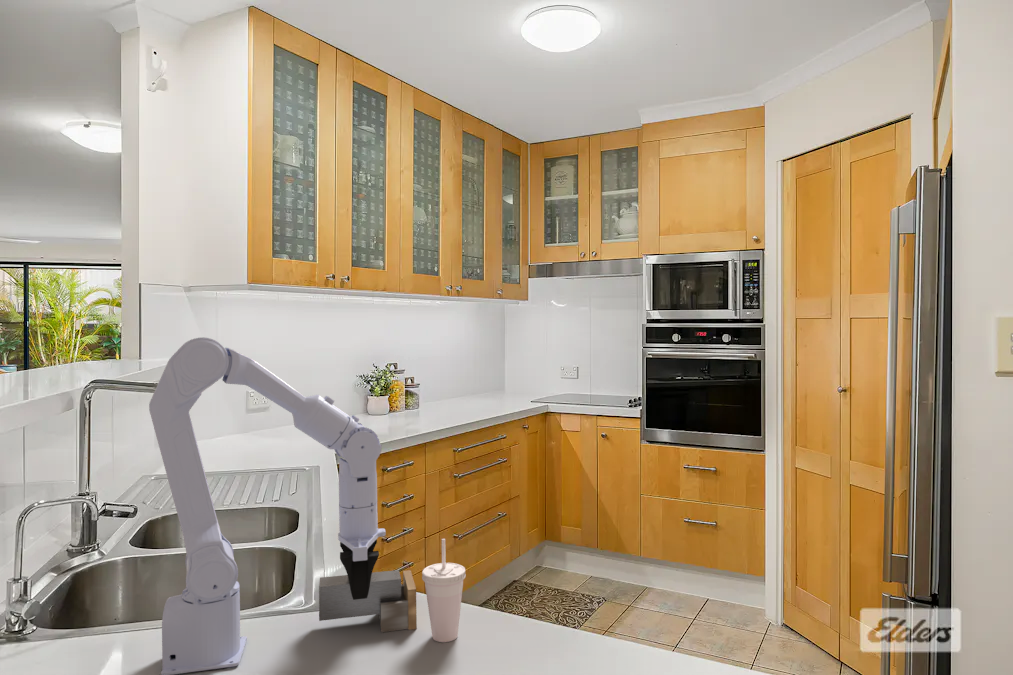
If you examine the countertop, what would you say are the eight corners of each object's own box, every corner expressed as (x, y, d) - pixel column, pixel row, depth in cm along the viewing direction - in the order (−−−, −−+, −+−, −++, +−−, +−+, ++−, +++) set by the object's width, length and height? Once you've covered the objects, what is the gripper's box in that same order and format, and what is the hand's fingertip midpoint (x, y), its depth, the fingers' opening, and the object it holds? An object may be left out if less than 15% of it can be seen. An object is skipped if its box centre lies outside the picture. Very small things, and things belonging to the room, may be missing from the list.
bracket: (381, 633, 94) (380, 593, 94) (378, 611, 101) (377, 573, 101) (416, 629, 95) (416, 589, 95) (411, 607, 103) (410, 570, 103)
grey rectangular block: (399, 601, 100) (398, 570, 100) (401, 611, 96) (401, 578, 96) (320, 610, 97) (319, 577, 97) (319, 620, 93) (319, 587, 93)
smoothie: (466, 625, 96) (465, 532, 96) (467, 645, 89) (465, 546, 89) (424, 627, 95) (422, 534, 95) (421, 647, 89) (419, 548, 89)
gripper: (388, 514, 91) (389, 608, 91) (382, 490, 105) (383, 572, 105) (337, 518, 89) (338, 614, 89) (337, 493, 103) (339, 577, 103)
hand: (359, 592), depth 97 cm, fingers closed on grey rectangular block, 4 cm apart
